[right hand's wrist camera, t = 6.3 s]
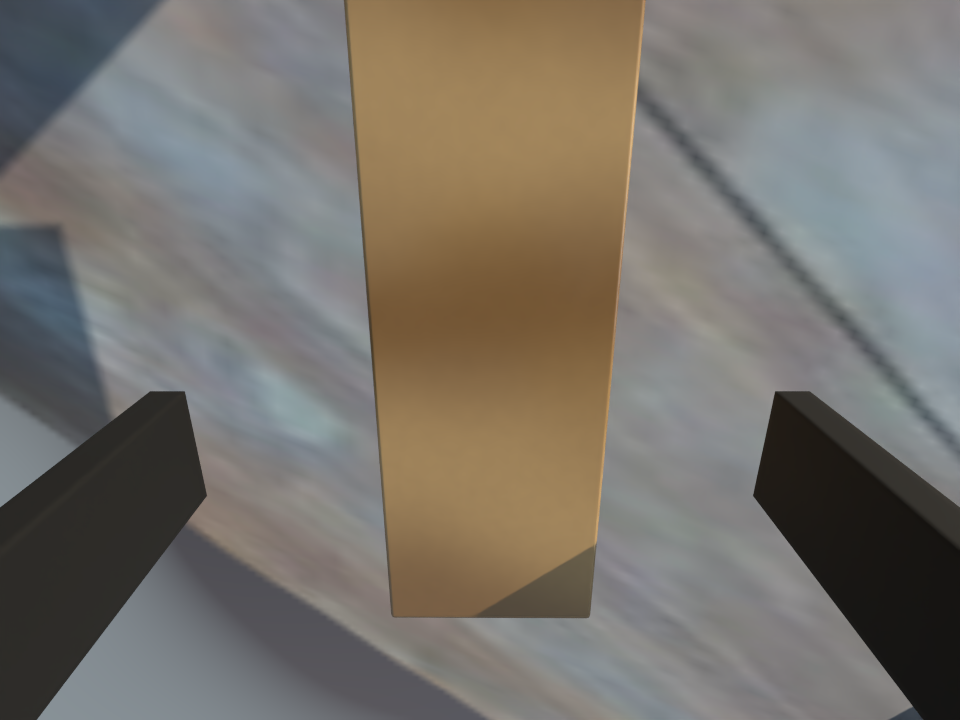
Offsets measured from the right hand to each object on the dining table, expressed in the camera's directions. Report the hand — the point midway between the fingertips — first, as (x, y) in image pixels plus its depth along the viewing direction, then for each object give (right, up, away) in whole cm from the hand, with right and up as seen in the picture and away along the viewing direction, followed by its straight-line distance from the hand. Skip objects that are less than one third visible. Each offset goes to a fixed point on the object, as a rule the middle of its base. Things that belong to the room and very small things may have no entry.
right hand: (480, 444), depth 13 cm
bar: (0, +10, +4) cm, 11 cm away
